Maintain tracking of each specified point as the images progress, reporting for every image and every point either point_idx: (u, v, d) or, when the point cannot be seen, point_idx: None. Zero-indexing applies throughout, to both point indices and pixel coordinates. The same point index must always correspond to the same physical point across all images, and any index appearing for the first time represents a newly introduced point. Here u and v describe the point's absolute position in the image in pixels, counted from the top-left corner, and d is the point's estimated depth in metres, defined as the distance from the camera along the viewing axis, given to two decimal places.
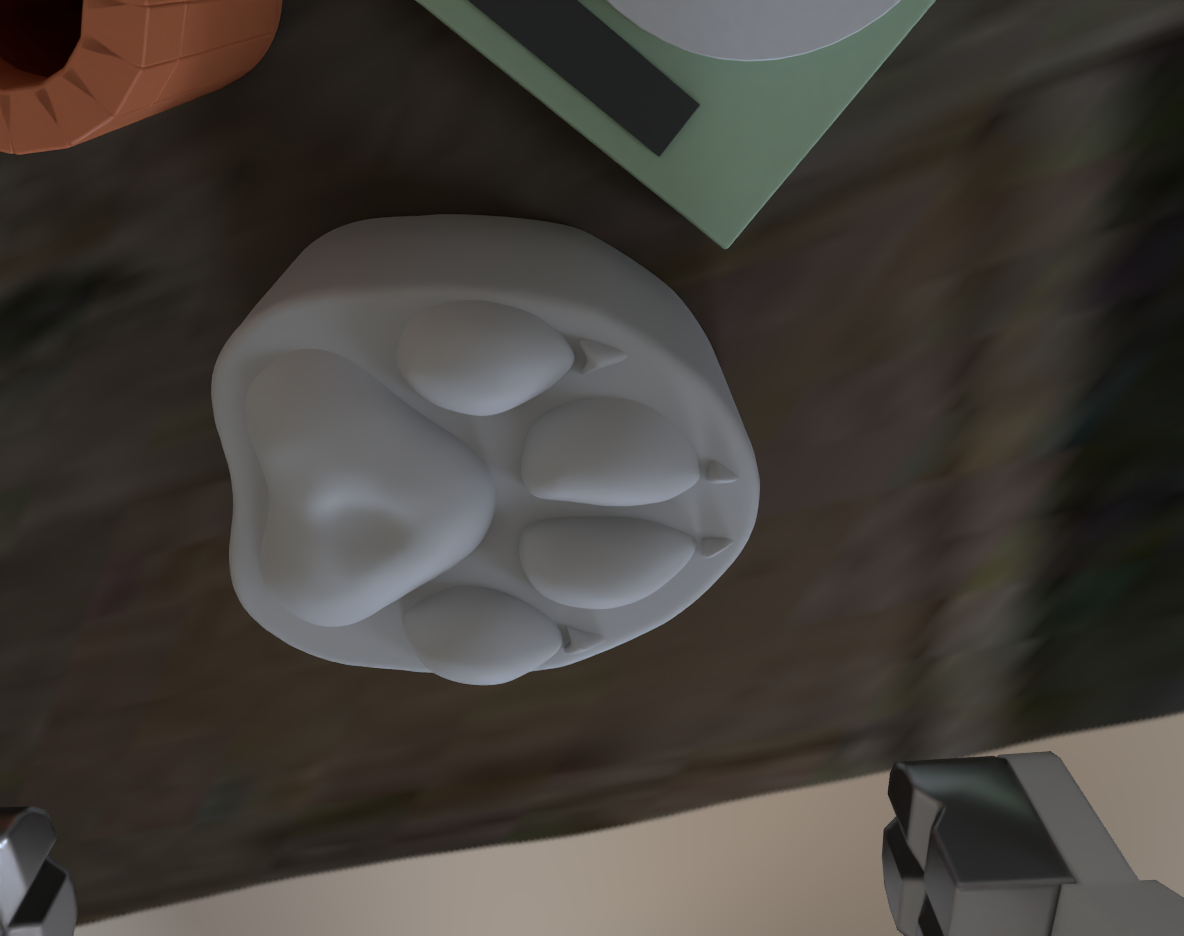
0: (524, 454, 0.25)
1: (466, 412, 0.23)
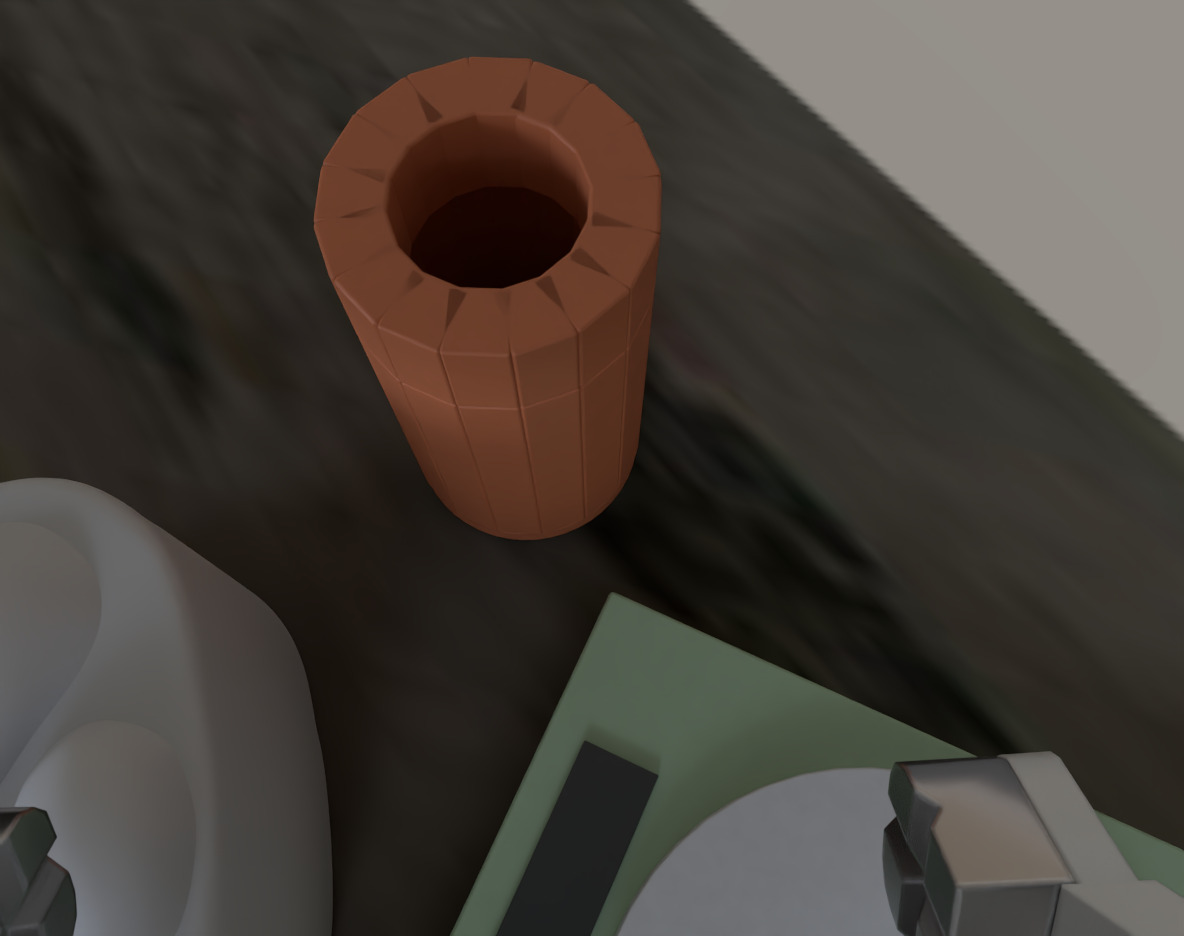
0: None
1: None
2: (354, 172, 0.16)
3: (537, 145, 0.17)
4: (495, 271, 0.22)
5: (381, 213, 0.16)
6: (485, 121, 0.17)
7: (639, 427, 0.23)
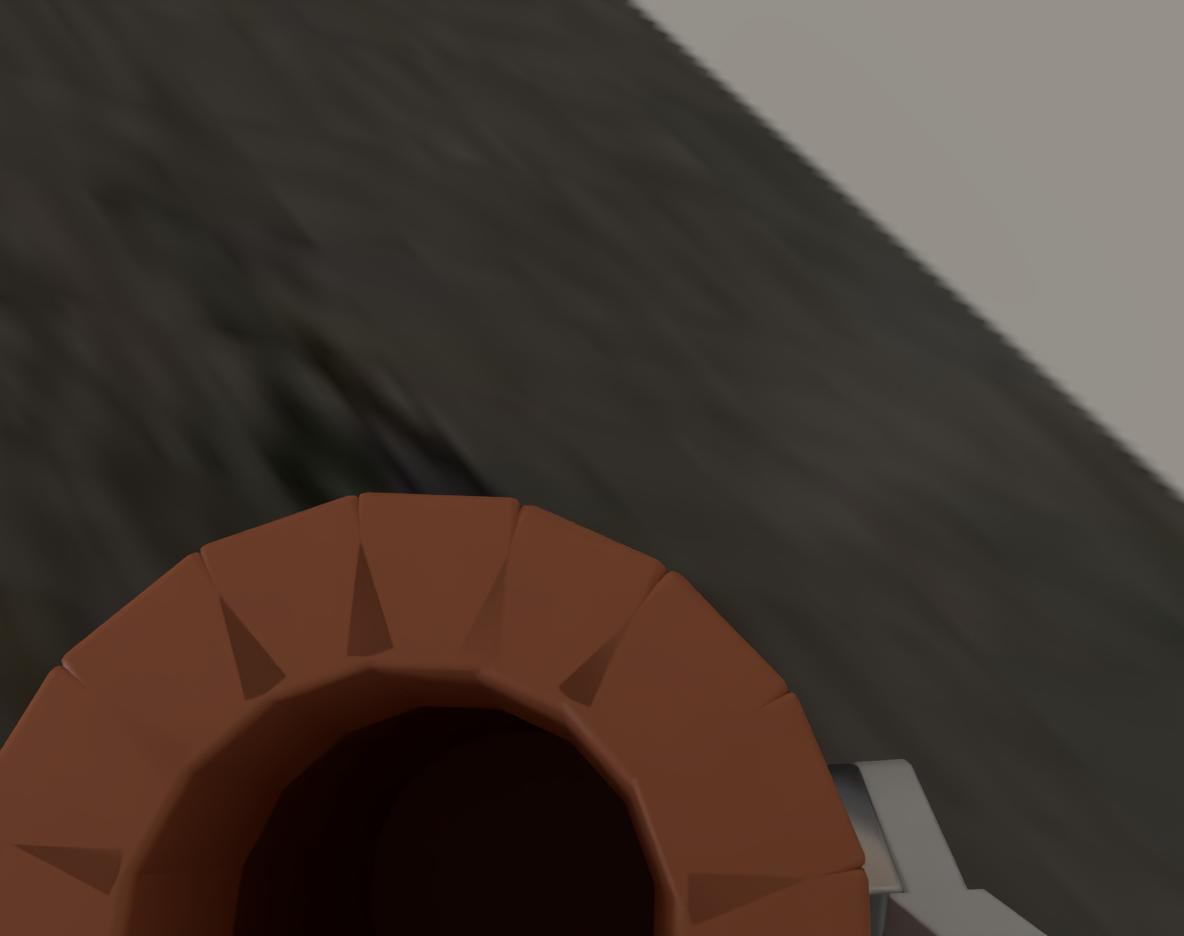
0: None
1: None
2: (36, 859, 0.06)
3: (533, 709, 0.07)
4: None
5: None
6: (398, 672, 0.06)
7: None
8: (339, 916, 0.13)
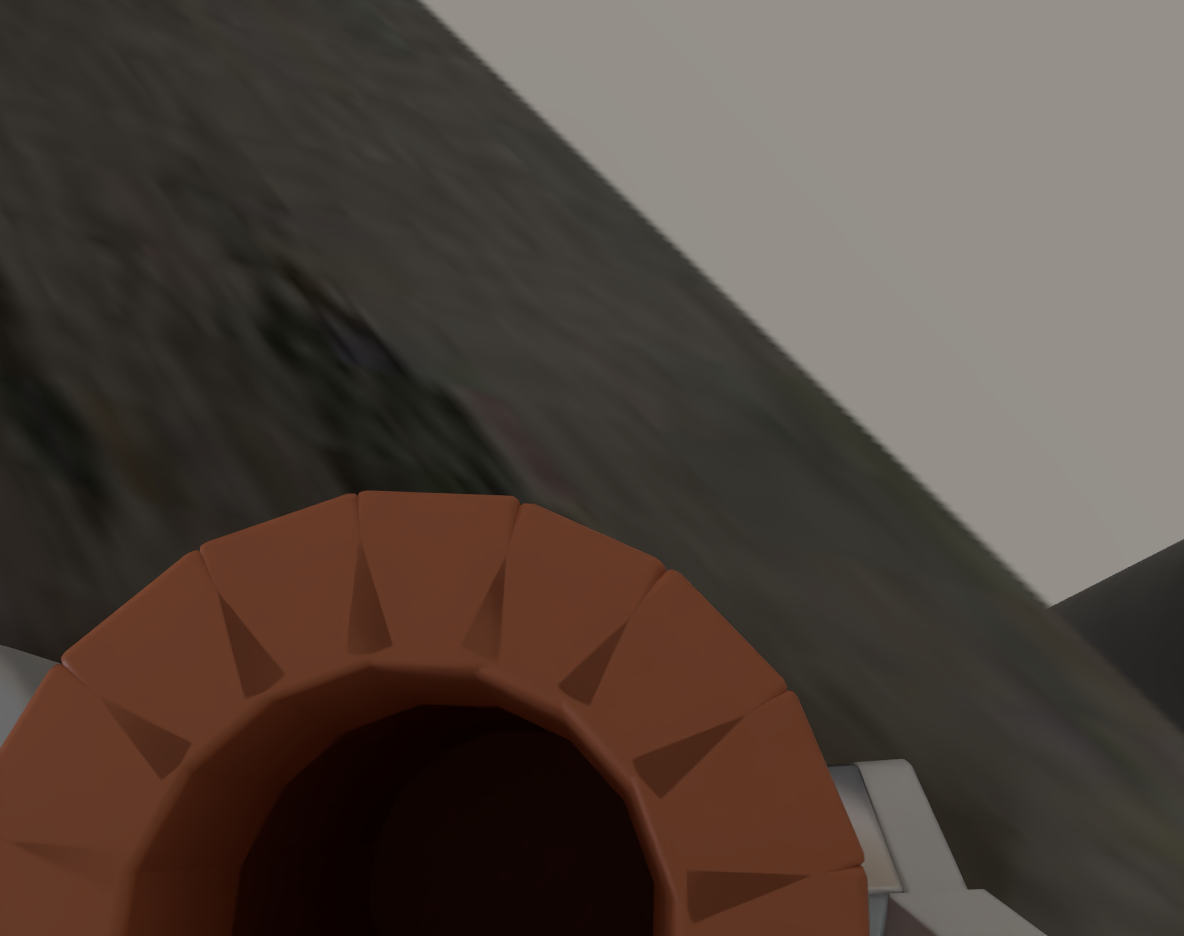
0: None
1: None
2: (35, 857, 0.06)
3: (533, 706, 0.07)
4: None
5: None
6: (397, 670, 0.06)
7: None
8: (338, 915, 0.13)
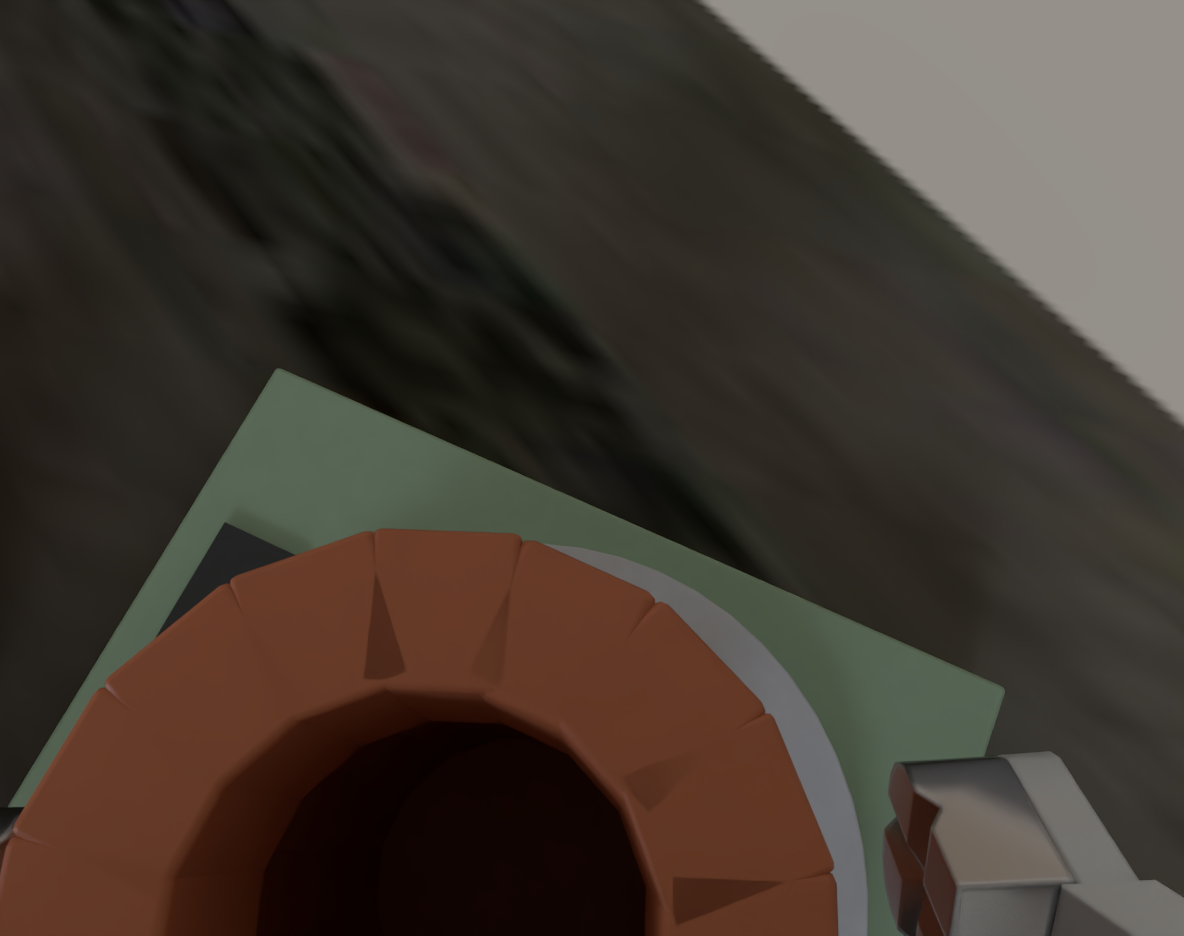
0: None
1: None
2: (84, 864, 0.07)
3: (533, 726, 0.07)
4: None
5: None
6: (411, 694, 0.07)
7: None
8: (349, 916, 0.13)
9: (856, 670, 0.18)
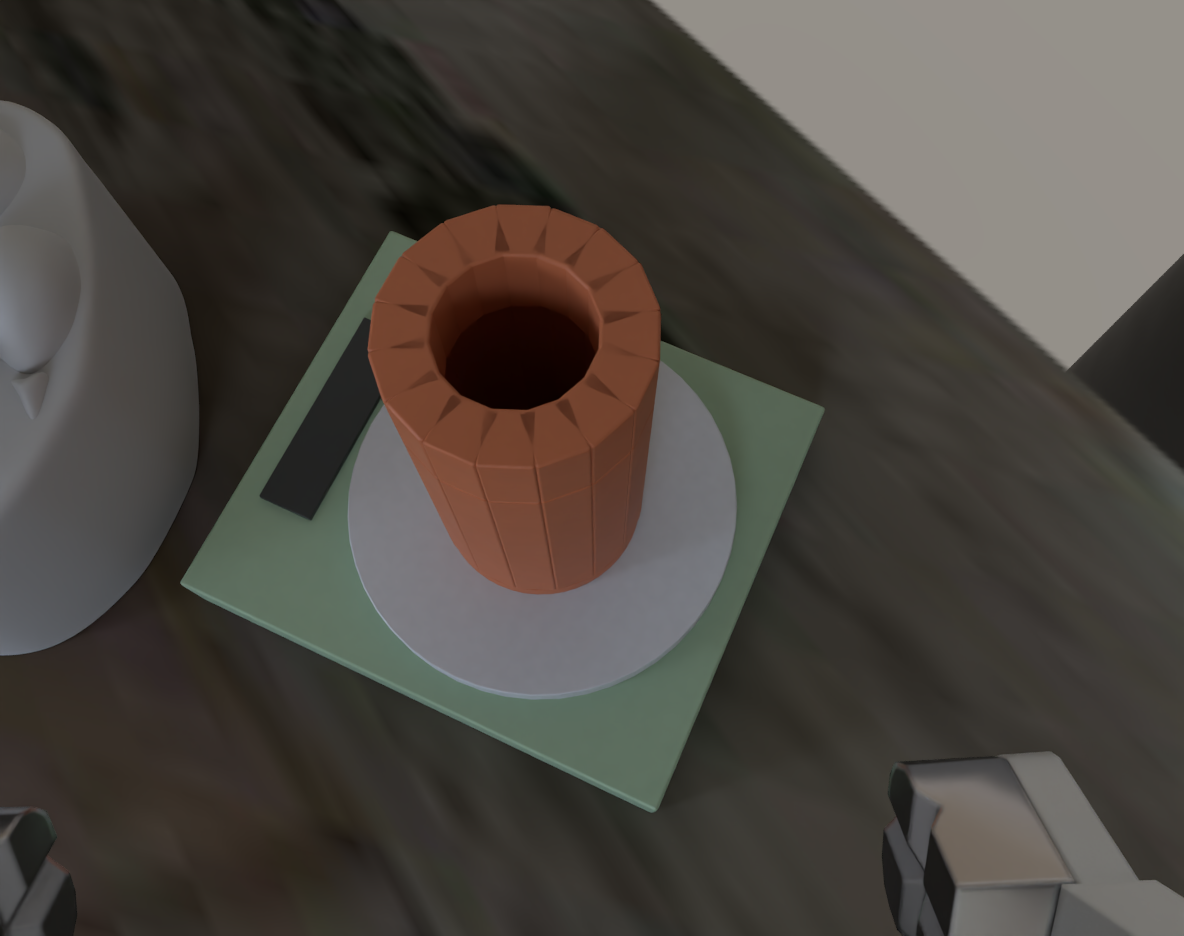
0: None
1: None
2: (401, 308, 0.19)
3: (555, 279, 0.20)
4: (514, 363, 0.25)
5: (424, 344, 0.19)
6: (511, 260, 0.20)
7: (642, 496, 0.26)
8: None
9: (737, 398, 0.30)
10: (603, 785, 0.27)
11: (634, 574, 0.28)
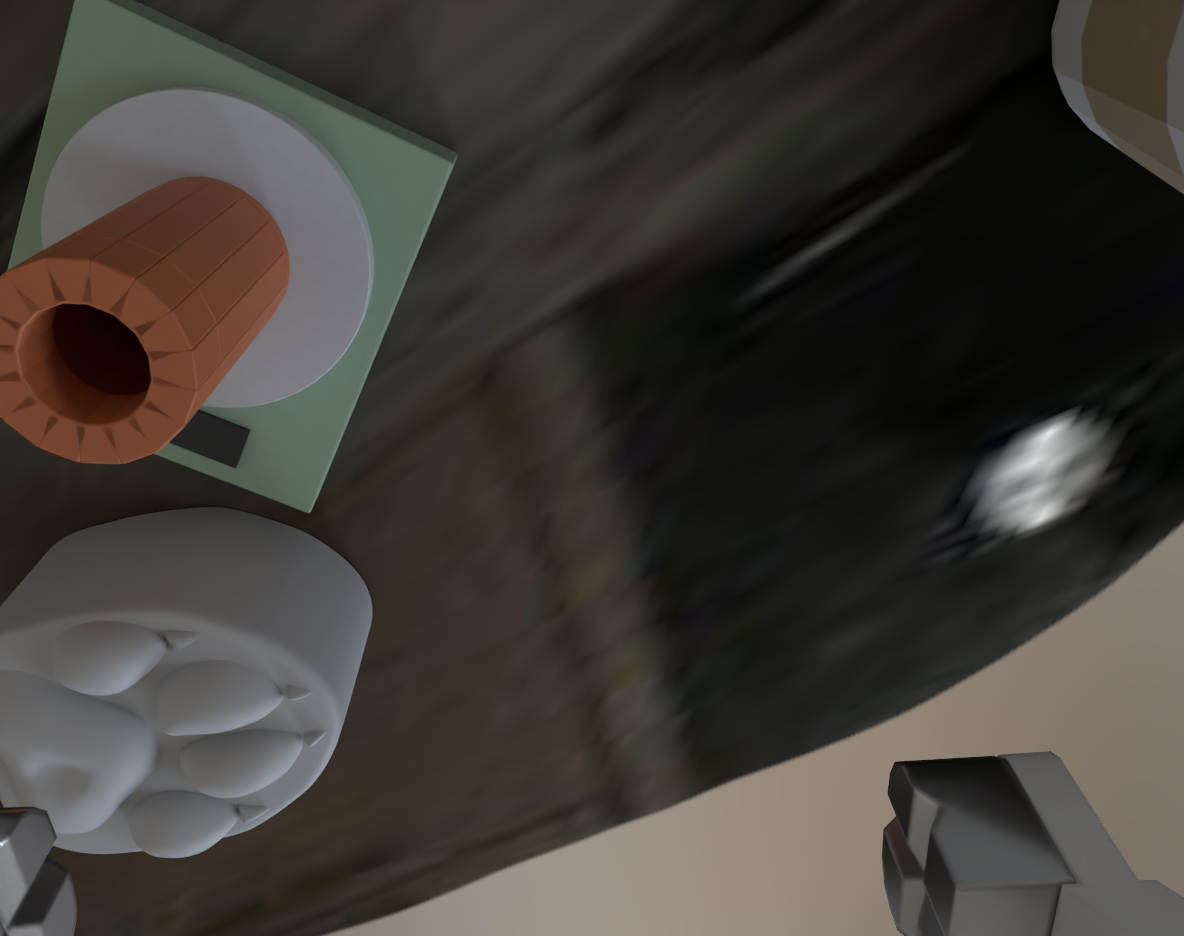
0: (157, 707, 0.36)
1: (100, 695, 0.35)
2: (82, 444, 0.26)
3: (31, 330, 0.25)
4: (96, 312, 0.30)
5: (108, 427, 0.26)
6: (24, 367, 0.25)
7: (195, 190, 0.31)
8: None
9: (83, 75, 0.32)
10: (435, 204, 0.35)
11: (263, 182, 0.33)
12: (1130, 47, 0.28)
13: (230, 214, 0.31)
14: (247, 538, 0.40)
